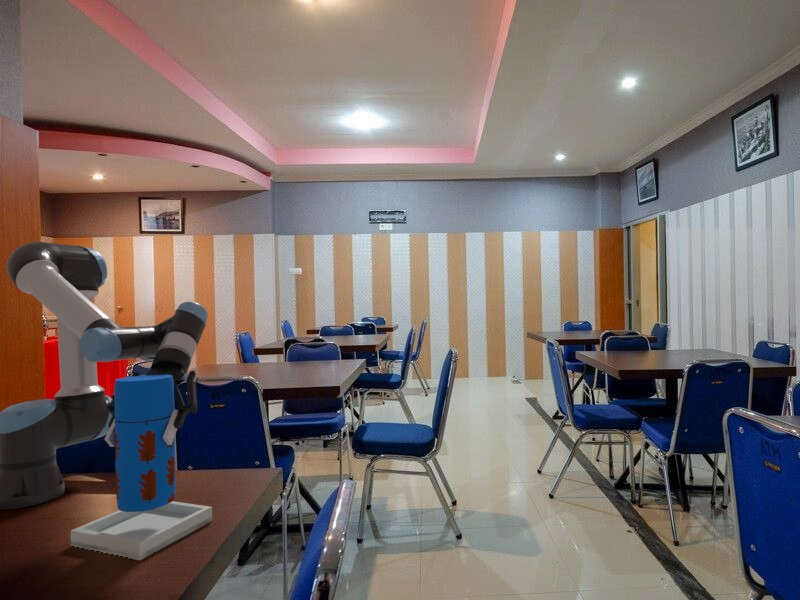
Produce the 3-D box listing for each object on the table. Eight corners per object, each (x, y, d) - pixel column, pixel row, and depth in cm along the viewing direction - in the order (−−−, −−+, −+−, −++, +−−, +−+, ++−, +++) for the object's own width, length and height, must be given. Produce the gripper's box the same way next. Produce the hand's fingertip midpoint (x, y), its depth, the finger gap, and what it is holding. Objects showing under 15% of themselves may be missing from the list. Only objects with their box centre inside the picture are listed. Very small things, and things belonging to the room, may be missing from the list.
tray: (70, 546, 96) (70, 530, 97) (149, 511, 113) (148, 497, 113) (139, 560, 90) (139, 543, 90) (212, 521, 107) (211, 506, 107)
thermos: (186, 492, 106) (183, 374, 107) (157, 512, 96) (154, 380, 96) (137, 492, 107) (135, 375, 108) (103, 512, 97) (101, 381, 97)
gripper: (229, 365, 117) (202, 450, 101) (131, 368, 118) (89, 453, 102) (219, 344, 112) (190, 430, 96) (117, 347, 113) (70, 433, 97)
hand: (138, 442), depth 99 cm, fingers closed on thermos, 11 cm apart
